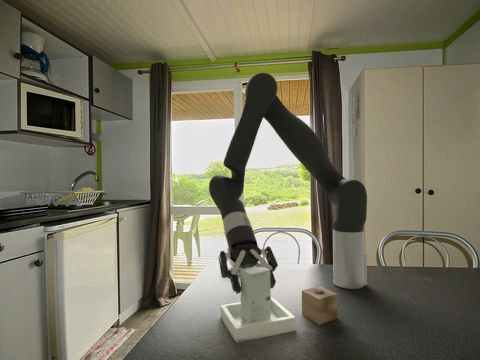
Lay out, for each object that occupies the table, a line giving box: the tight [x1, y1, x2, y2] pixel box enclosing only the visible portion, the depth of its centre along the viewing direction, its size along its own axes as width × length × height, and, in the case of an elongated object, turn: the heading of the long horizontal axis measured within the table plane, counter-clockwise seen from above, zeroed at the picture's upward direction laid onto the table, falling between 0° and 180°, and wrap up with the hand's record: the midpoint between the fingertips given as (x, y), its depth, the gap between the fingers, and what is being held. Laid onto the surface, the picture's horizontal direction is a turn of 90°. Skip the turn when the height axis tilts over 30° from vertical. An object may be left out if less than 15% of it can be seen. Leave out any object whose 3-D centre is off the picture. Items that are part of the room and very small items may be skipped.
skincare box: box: [239, 266, 272, 324], centre depth 69 cm, size 6×4×12 cm
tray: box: [219, 296, 297, 344], centre depth 69 cm, size 14×12×3 cm
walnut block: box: [301, 285, 339, 325], centre depth 72 cm, size 6×6×6 cm
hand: (256, 289), depth 69 cm, fingers open, 8 cm apart
